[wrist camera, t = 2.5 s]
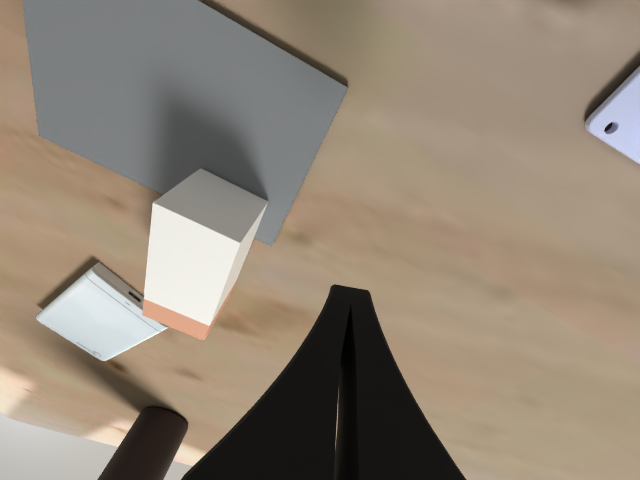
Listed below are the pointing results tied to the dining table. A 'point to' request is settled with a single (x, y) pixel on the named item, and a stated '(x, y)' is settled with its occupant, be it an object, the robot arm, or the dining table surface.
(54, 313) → the hard drive
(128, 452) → the bottle
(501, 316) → the dining table surface
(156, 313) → the block
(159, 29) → the mat
